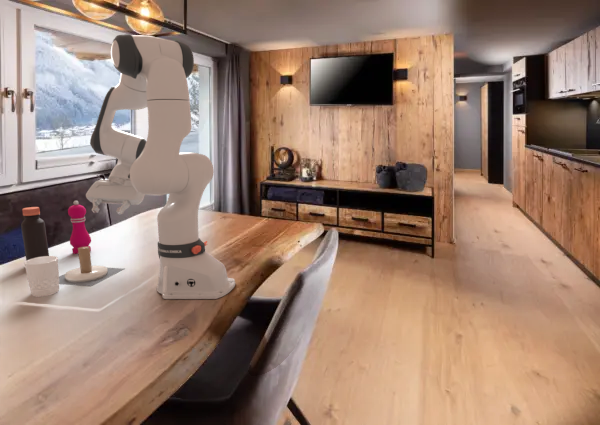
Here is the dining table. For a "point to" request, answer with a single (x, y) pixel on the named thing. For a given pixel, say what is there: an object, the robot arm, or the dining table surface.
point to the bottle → (34, 234)
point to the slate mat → (90, 283)
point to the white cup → (43, 275)
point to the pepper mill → (78, 227)
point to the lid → (85, 268)
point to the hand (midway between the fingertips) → (106, 212)
